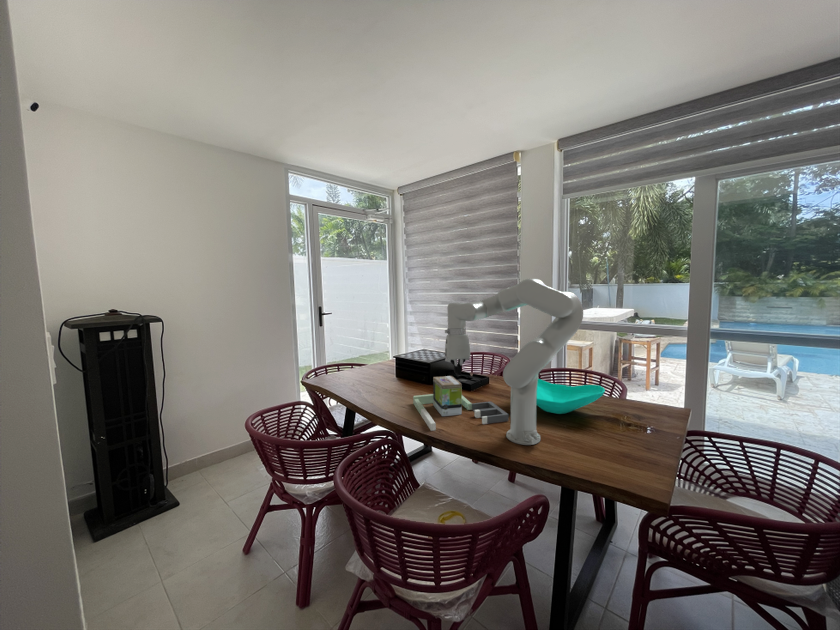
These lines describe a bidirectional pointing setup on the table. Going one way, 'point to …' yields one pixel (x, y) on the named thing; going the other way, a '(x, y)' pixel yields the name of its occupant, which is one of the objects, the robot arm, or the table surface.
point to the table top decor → (565, 396)
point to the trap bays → (491, 412)
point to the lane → (429, 399)
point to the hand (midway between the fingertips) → (457, 374)
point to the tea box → (447, 395)
